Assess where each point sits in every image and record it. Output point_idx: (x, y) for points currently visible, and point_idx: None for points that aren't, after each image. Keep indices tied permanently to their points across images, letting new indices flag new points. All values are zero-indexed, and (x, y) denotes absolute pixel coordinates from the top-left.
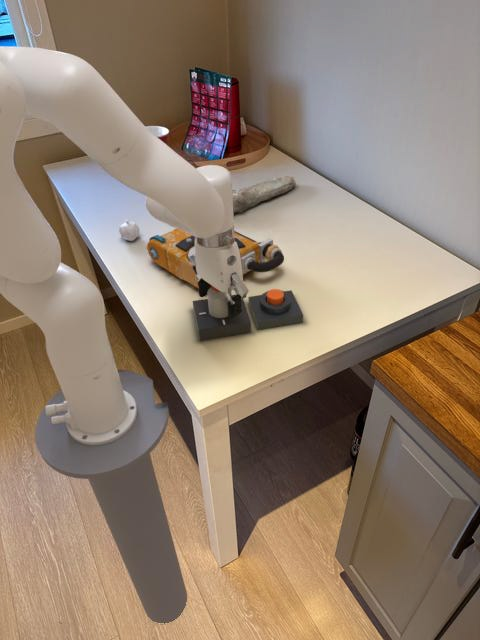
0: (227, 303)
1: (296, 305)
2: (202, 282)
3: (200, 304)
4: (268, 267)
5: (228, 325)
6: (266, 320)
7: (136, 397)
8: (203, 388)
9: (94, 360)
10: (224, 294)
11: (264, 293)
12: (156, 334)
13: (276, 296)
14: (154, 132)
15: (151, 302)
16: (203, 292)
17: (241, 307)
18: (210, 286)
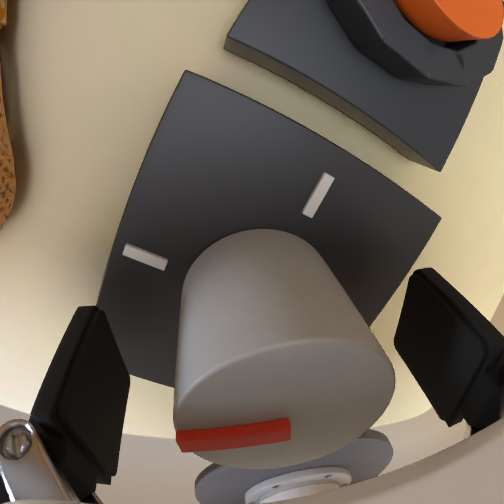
0: (440, 418)
1: None
2: (107, 471)
3: (132, 348)
4: None
5: (375, 317)
6: (460, 131)
7: (305, 466)
8: (413, 403)
9: None
10: (352, 403)
11: None
12: (164, 433)
13: (485, 3)
14: None
15: (7, 378)
16: (120, 393)
17: (451, 287)
18: (90, 359)
